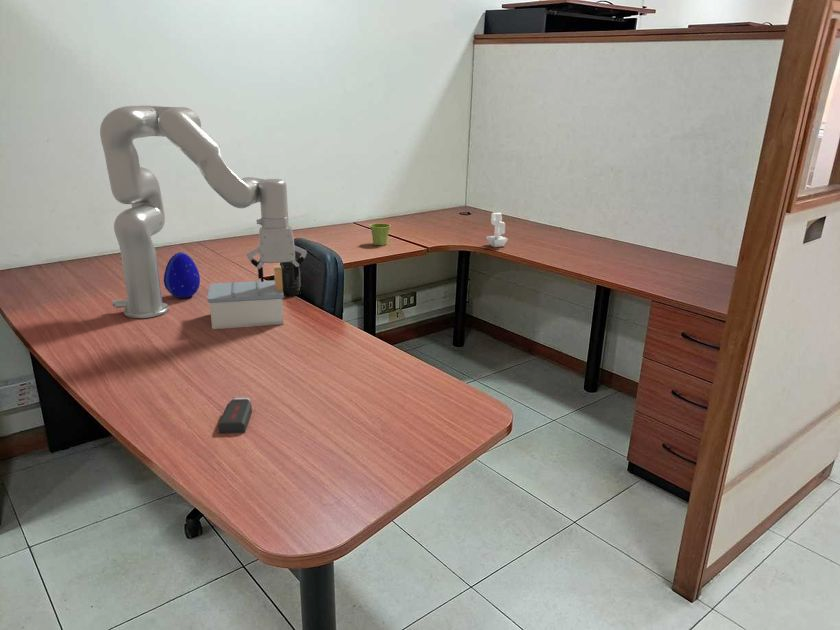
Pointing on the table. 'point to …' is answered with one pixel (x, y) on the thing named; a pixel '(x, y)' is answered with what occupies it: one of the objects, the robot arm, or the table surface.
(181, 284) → the ornament
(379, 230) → the plant pot
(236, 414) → the usb drive
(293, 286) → the supplement bottle
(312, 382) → the table surface
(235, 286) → the tub lid
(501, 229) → the figurine
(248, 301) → the box
